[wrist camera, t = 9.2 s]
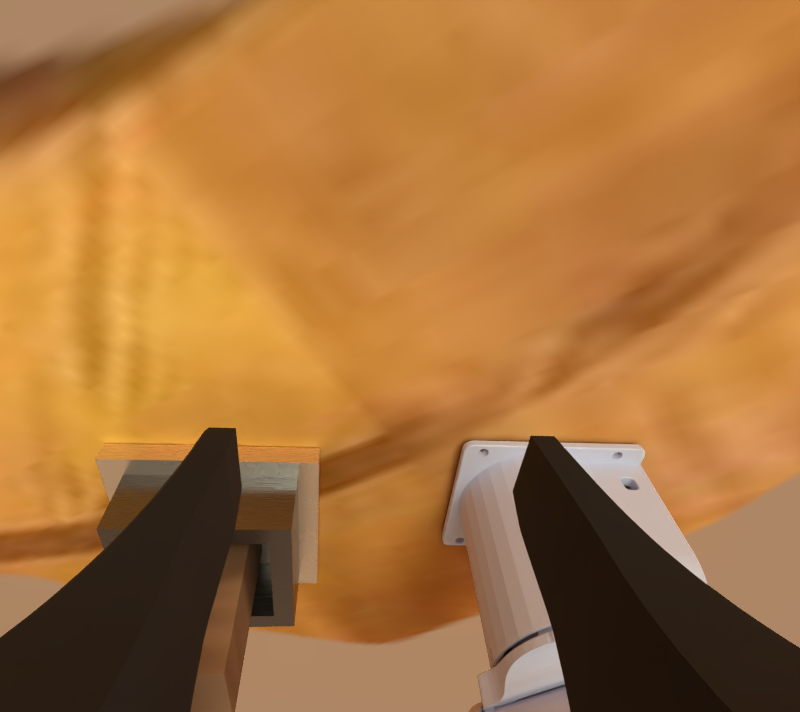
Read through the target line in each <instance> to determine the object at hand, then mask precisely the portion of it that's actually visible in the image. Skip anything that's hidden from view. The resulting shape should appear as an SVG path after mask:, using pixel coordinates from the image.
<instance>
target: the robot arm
mask: <svg viewBox="0 0 800 712" xmlns="http://www.w3.org/2000/svg"><path fill="white" fill-rule="evenodd" d="M482 449H485V450H484V451H480V450H482ZM644 456H645V451H644V449H643V448H642V446H640V445H637V444H600V443H560V442H559V441H558V440H557V439H556V438H555V437H554V436H531V437H530V440H529V442H518V441H477V440H473V441H469V442H466V443H465V444H464V445H463V447H462V451H461V455H460V460H459V464H458V468H457V472H456V477H455V481H454V485H453V490H452V494H451V498H450V502H449V507H448V511H447V515H446V519H445V524H444V528H443V532H442V541H443V543H444V544H446V545H466V547H467V552H468V557H469V562H470V567H471V572H472V577H473V582H474V587H475V592H476V597H477V602H478V607H479V612H480V617H481V622H482V627H483V632H484V637H485V642H486V647H487V652H488V657H489V661H490V667H491V669H490V670H488V671H486V672H483V673H481V674H479V675H478V682H479V687H480V694H481V699H482V702H481V703H478V704H476V705H475V706H473V707H472V708H471V709H470V711H469V712H800V648H799V647H797V646H796V645H794V644H792V643H791V642H789V641H788V640H786V639H785V638H783V637H782V636H780V635H779V634H777V633H775V632H774V631H772V630H771V629H769V628H768V627H766V626H765V625H763V624H762V623H760V622H759V621H757V620H756V619H754V618H753V617H751V616H750V615H749V614H747V613H746V612H744V611H742V610H741V609H740V608H738V607H737V606H736V605H734V604H733V603H731V602H730V601H729V600H727V599H726V598H725V597H723V596H722V595H721V594H719V593H718V592H717V591H715V590H714V589H712V588H711V587H710V586H709V585H708V584H707V581H706V578H705V576H704V573H703V570H702V568H701V566H700V563H699V561H698V560H697V558H696V556H695V554H694V552H693V551H692V549H691V547H690V546H689V544H688V542H687V541H686V539H685V537H684V536H683V534H682V532H681V531H680V529H679V527H678V526H677V524H676V522H675V521H674V519H673V517H672V516H671V514H670V513H669V511H668V509H667V508H666V506H665V504H664V503H663V501H662V499H661V498H660V496H659V494H658V493H657V491H656V489H655V488H654V486H653V484H652V483H651V481H650V479H649V478H648V476H647V475H646V473H645V471H644V470H643V468H642V466H641V465H640V464H641V462H642V460H643V458H644ZM241 490H242V483H241V474H240V465H239V456H238V446H237V437H236V428H208V429H207V430H205V431H204V432H203V434H202V435H201V437H200V438H199V440H198V441H197V442H196V444H195V445H194V446H193V448H192V449H191V451H190V452H189V453H188V455H187V456H186V457H185V459H184V460H183V461H182V462H181V464H180V465H179V466H178V468H177V469H176V470H175V471H174V473H173V474H172V475H171V476H170V478H169V479H168V480H167V481H166V482H165V484H164V485H163V486H162V487H161V488H160V490H159V491H158V492H157V493H156V494H155V496H154V497H153V498H152V499H151V500H150V501H149V503H148V504H147V505H146V506H145V507H144V508H143V509H142V510H141V511H140V513H139V514H138V515H137V516H136V517H135V518H134V519H133V520H132V521H131V522H130V523H129V524H128V526H127V527H126V528H125V529H124V530H123V531H122V532H121V533H120V534H119V535H118V536H117V537H116V538H115V539H114V540H113V541H112V542H111V543H110V544H109V545H108V546H107V547H106V548H105V549H104V550H103V551H102V552H101V553H100V554H99V555H98V556H97V557H96V558H95V559H94V560H93V561H92V562H90V563H89V564H88V565H87V566H86V567H85V568H84V569H83V570H82V571H81V572H80V573H79V574H77V575H76V576H75V577H74V578H73V579H72V580H71V581H69V582H68V583H67V584H66V585H65V586H64V587H63V588H61V589H60V591H58V592H57V593H56V594H55V595H53V596H52V597H51V598H50V599H49V600H48V601H46V602H45V603H44V604H43V605H41V606H40V607H39V608H38V609H37V610H36V611H34V612H33V613H32V614H31V615H29V616H28V617H27V618H25V619H24V620H23V621H21V622H20V623H19V624H17V625H16V626H15V627H14V628H12V629H11V630H10V631H8V632H7V633H6V634H4V635H3V636H2V637H1V638H0V712H190V711H191V705H192V699H193V694H194V688H195V683H196V678H197V673H198V667H199V662H200V657H201V652H202V646H203V641H204V637H205V633H206V629H207V625H208V621H209V617H210V614H211V610H212V607H213V604H214V600H215V597H216V593H217V590H218V586H219V583H220V579H221V576H222V573H223V569H224V566H225V562H226V559H227V555H228V552H229V548H230V545H231V541H232V538H233V534H234V530H235V526H236V520H237V515H238V509H239V503H240V496H241Z"/></svg>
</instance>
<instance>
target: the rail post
mask: <svg viewBox="0 0 800 712" xmlns="http://www.w3.org/2000/svg"><path fill="white" fill-rule="evenodd" d="M261 554H262V544H231V545H230V548H229V552H228V555H227V559H226V562H225V566H224V569H223V573H222V576H221V579H220V583H219V586H218V590H217V593H216V597H215V600H214V604H213V607H212V610H211V614H210V617H209V621H208V625H207V629H206V633H205V637H204V641H203V646H202V652H201V657H200V662H199V667H198V673H197V678H196V683H195V688H194V694H193V699H192V705H191V711H190V712H235V707H236V702H237V695H238V690H239V684H240V677H241V672H242V666H243V660H244V654H245V648H246V642H247V637H248V631H249V625H250V619H251V613H252V607H253V601H254V595H255V589H256V583H257V577H258V571H259V566H260V560H261Z"/></svg>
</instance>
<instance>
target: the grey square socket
mask: <svg viewBox="0 0 800 712" xmlns="http://www.w3.org/2000/svg"><path fill="white" fill-rule="evenodd" d="M193 446H194V445H159V444H113V443H104V445H103V446H102V448H101V450H100V452H99V454H98V455H97V457H96V462H97V465H98V468H99V471H100V474H101V477H102V480H103V483H104V486H105V489H106V493H107V496H108V499H109V502H110V503H109V505H108V507H107V509H106V511H105V513H104V515H103V517H102V519H101V521H100V524H99V526H98V528H97V531H98V534H99V537H100V539H101V542H102V545H103V547H104V549H105V548H106V547H107V546H108V545H109V544H110V543H111V542H112V541H113V540H114V539H115V538H116V537H117V536H118V535H119V534H120V533H121V532H122V531H123V530H124V529H125V528H126V527H127V526H128V524H129V523H130V522H131V521H132V520H133V519H134V518H135V517H136V516H137V515H138V514H139V513H140V511H141V510H142V509H143V508H144V507H145V506H146V505H147V504H148V503H149V501H150V500H151V499H152V498H153V497H154V496H155V494H156V493H157V492H158V491H159V490H160V488H161V487H162V486H163V485H164V484H165V482H166V481H167V480H168V479H169V478H170V476H171V475H172V474H173V473H174V471H175V470H176V469H177V468H178V466H179V465H180V464H181V462H182V461H183V460H184V459H185V457H186V456H187V455H188V453H189V452H190V451H191V449H192V448H193ZM238 456H239V465H240V474H241V483H242V490H241V496H240V503H239V509H238V515H237V520H236V526H235V530H234V534H233V538H232V541H231V544H262V554H261V560H260V566H259V571H258V577H257V583H256V589H255V595H254V601H253V607H252V613H251V619H250V625H249V627H266V626H294V623H295V613H296V603H297V592H298V583H317V574H318V536H319V479H320V448H296V447H250V446H238Z"/></svg>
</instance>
